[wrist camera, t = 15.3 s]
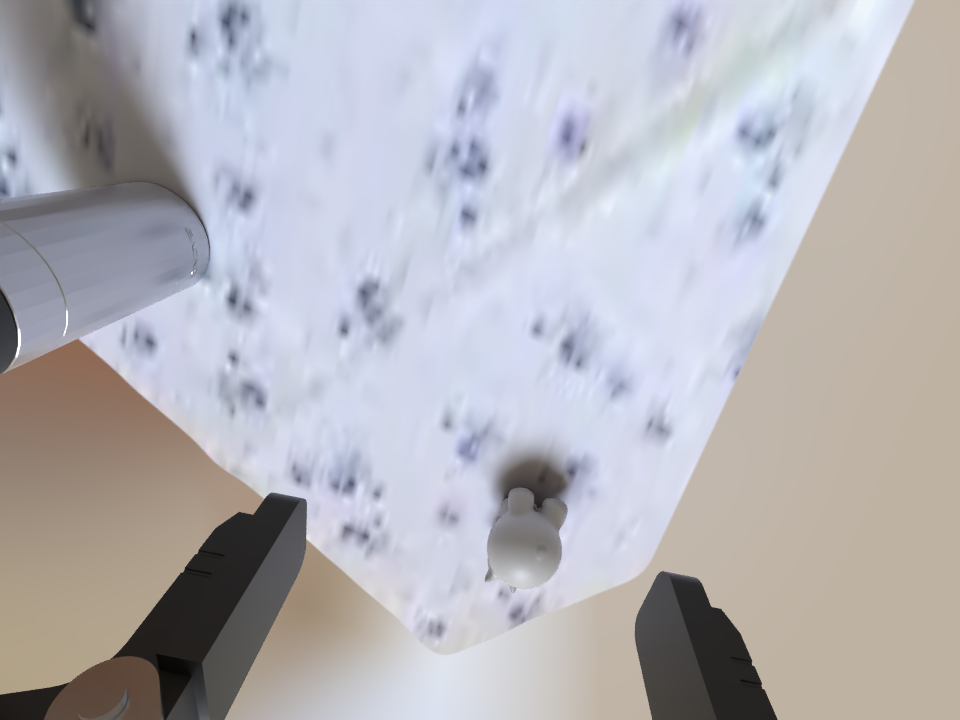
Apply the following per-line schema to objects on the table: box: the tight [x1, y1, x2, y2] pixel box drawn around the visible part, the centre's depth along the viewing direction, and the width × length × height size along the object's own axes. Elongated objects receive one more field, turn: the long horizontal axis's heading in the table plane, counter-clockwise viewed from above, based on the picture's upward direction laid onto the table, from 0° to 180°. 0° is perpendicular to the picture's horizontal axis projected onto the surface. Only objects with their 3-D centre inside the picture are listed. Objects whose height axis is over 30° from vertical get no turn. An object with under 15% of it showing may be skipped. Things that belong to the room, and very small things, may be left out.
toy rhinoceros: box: [485, 487, 568, 593], centre depth 48 cm, size 7×12×8 cm, turn 157°
